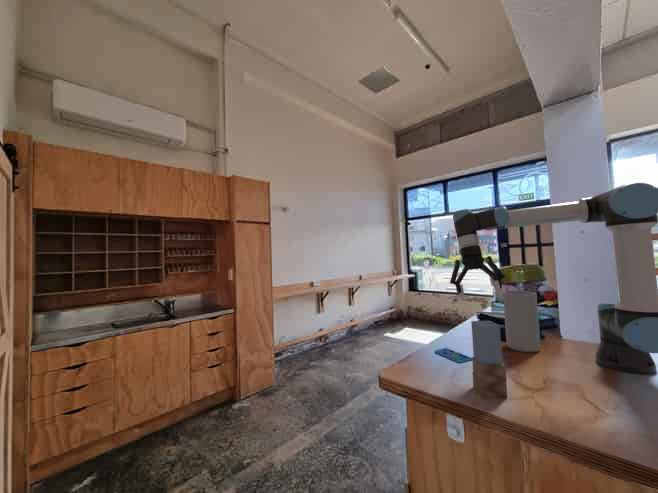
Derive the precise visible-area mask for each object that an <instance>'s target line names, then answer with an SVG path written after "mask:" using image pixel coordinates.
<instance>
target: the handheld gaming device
mask: <svg viewBox="0 0 658 493" xmlns="http://www.w3.org/2000/svg"><path fill="white" fill-rule="evenodd" d="M434 353H435V354H436V355H439V356H441V357H442V358H445V359H448V360H450V361H452V362H454V363H457V364H463V363H467V362H470V361H472V356H468V355H465V354H463V353H461V352H459V351H458V352H457V351H456V350H453V349H450V348H448V347H444V348H439V349H436V350H434Z"/></svg>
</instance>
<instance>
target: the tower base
mask: <svg viewBox="0 0 658 493" xmlns="http://www.w3.org/2000/svg"><path fill="white" fill-rule="evenodd" d="M472 382H473V383H472V384H473V385H472V386H473V388H474V389H475V390H476V392H477V393H478V394H479V395H480V396H481V397H482V398H483V399H508V389H507V388H508V387H507V385H508V384H507V382H482V381H481V380H480V379H479V378H478V377H477V376H476V375H475V373H474V372H473V371H472Z"/></svg>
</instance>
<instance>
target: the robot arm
mask: <svg viewBox="0 0 658 493" xmlns="http://www.w3.org/2000/svg"><path fill="white" fill-rule="evenodd" d="M452 218H453V219H452V220H453V224H454V225H453V226H454V230H455V234H456V237H457V244H458V247H459V248H460V249H459V252H460V257H461V259H455V260H454V261H453V263H454V264H453V265H454V267H453V269H452V273H451V277H450V280H449V283H450V285H451V284H452V285H455V288H456V293H457V294H459V296H460V301H461V302H467V300H466V294H465V291H464V290H465V289H464V284H462V281H463V279H464V277H466V274H467V272H468V271H472V270H479V269H480V270H481V271H483V273H485V274H487V275H488V276H489V277H490V278H492V279H493V281H492V284H493V287H494V292H495V296H496V299H499V298H502V299H503V292H502V290H501V289H503V286H502V285H503V284H502V279H505V278H506V275H505V274H504V273H503V271H502V270H501V269H500V268H499V267H498V265H497V264H496V263H495V262H494V260H493V258H492V256H490V255H489V256H485V257H483V253H482V249H481V246H480V240H479V234H478V232H479V231H483V230H484V231H493V230H501V229H503V230H504V229H509V228H519V227H530V226H531V227H533V226H539V225H540V226H541V225H549V224H556V223H557V224H559V223H571V222H580V223H582V224H587V223H605V224H604V225H605V228H606V229H608V230H610V231H611V232H612V236H613V237H612V239H613V240H612V241H613V247H614V258H615V267H616V277H617V287H618V296H619V297H618V298H619V302H600V303H598V305H597V311H596V312H597V316H598V328H599V337H600V338H599V339H600V341H599V345H598V347H597V349H596V352H595V355H594V356H595V361H596V363H597V364H599V365H601V366H603V367H606V368H609V369H612V370H616V371H618V372H619V371H620V372H625V373H631V374H640V375H650V374H651V375H653V374H655V373H656V372H657V365H656V363H655V360H654V359H653V357H652V355H651V354H658V278H657V270H656V262H655V252H654V244H653V234H652V228H654V227H655V226H657V224H658V187H656V186H654V185H652V184H649V183H645V182H632V183H627V184H622V185H620V186H619V185H618V187H616V188H613V189H611V190H608V191H606V192H603V193H601V194H598V195H597V194H596V195H593V196H590V197H582V198H579V199H578V200H577V201H572V202H571V201H570V202H564V203H555V204H549V205H541V206H540V205H539V206H533V207H525V208H518V209H510V210H508V208H507V207H506V206H500V207H495V208H494V207H493V208H491V209H486V210H482V211H477V212H473V211H472V210H471V209H470V208H466V209H460V210H458V211H457V210H456V211H455V212H454V213H453V214H452ZM484 262H485V263H487V265H488V266H489V267H488V266H487V265H486V264H485V263H484ZM461 265H463V266H464V267H463V268H462V270H461V272H460V274H459V275H458V273H459V269H460V267H461ZM457 276H458V277H457Z"/></svg>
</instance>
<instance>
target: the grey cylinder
mask: <svg viewBox="0 0 658 493" xmlns="http://www.w3.org/2000/svg"><path fill="white" fill-rule="evenodd" d="M537 295H538V293H537V292H534V291H531V290H529V291H528V290H505V291H503V292H502V299H503V309H504V310H503V312H504V313H503V314H504V325H505V339H506V340H505V341H506V346H507V347H508V348H509V349H511V350H514V351H519V352H524V353H535V352H539V351H540V350H541V348H542V347H541V339H540V338H541V336H540V322H539V309H538V297H537Z"/></svg>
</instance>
